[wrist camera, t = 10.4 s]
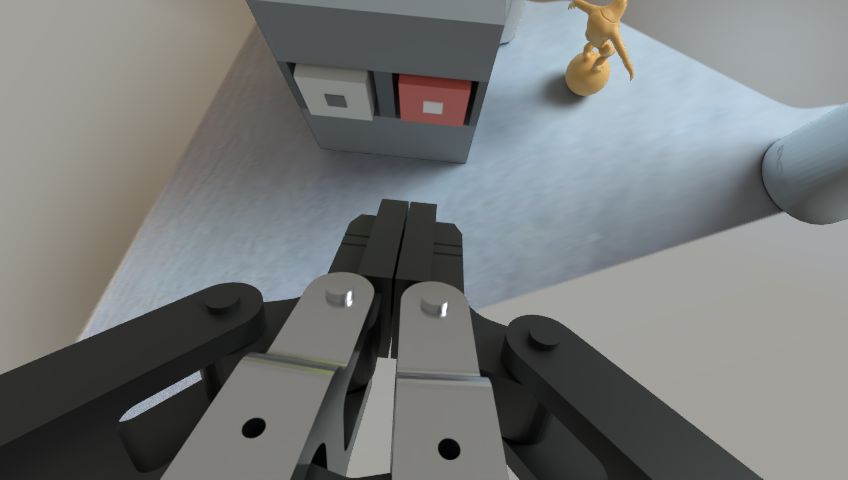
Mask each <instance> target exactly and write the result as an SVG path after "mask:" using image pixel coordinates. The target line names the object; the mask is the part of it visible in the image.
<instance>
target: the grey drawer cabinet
mask: <svg viewBox="0 0 848 480" xmlns="http://www.w3.org/2000/svg"><path fill="white" fill-rule="evenodd" d="M246 2H247V4H248V5H249V7H250V9H251V11H252V13H253V15H254V17H255V19H256V21H257V23H258V25H259V27H260V29H261V31H262V33H263V35H264V37H265V39H266V41H267V43H268V45H269V47H270V49H271V51H272V53H273V55H274V57H275V59H276V61H277V63H278V65H279V67H280V69H281V71H282V73H283V75H284V77H285V79H286V81H287V83H288V85H289V87H290V89H291V91H292V93H293V95H294V97H295V99H296V101H297V103H298V105H299V107H300V109H301V111H302V113H303V115H304V117H305V119H306V121H307V122H308V124H309V126H310V128H311V130H312V132H313V134H314V136H315V138H316V140H317V142H318V144H319V146H320V148H321V149H331V150H341V151H350V152H360V153H370V154H379V155H389V156H399V157H409V158H418V159H428V160H438V161H447V162H457V163H466V161H467V157H468V154H469V150H470V147H471V143H472V139H473V136H474V132H475V129H476V125H477V122H478V118H479V115H480V111H481V108H482V104H483V100H484V97H485V93H486V90H487V86H488V83H489V79H490V76H491V72H492V69H493V65H494V62H495V58H496V54H497V51H498V47H499V44H500V40H501V37H502V33H503V30H504V26H505V14H506V0H246ZM296 63H302V64H312V65H322V66H332V67H342V68H351V69H361V70H371V71H373V72H374V79H375V85H376V91H377V94H376V101H375V108H374V114H373V121H369V120H360V119H350V118H340V117H330V116H321V115H311V113H310V111H309V109H308V107H307V105H306V102H305V100H304V98H303V96H302V94H301V92H300V90H299V87H298V85H297V83H296V81H295V79H294V77H293V76H294V71H295V66H296ZM400 73H401V74H410V75H420V76H430V77H440V78H450V79H460V80H469V81H471V90H470V95H469V100H468V104H467V109H466V113H465V118H464V123H463V127H459V126H449V125H439V124H430V123H420V122H410V121H401V111H400V97H399V77H400Z"/></svg>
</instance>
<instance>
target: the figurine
mask: <svg viewBox="0 0 848 480" xmlns="http://www.w3.org/2000/svg"><path fill="white" fill-rule="evenodd" d="M626 6H627V0H616V1H614V2H613V3H611V4H609V5H607V6H603V7H602V6H596V5H592V4H589V3H587V2H585V1H582V0H574V1H573V2H572V3H570V5H569V6H568V10H569V8H570V7H571V9H572V7H574V9H575V7H578V8H579V9H581V10H582V11H584V12H586V13H587V14H588V16H589V17H588V22H587V30H586V32H585V36H586V39H587V40H588V41H590V42H588V43H587V44H586V45H585V47H584V52H583V53H581V54H579V55H577V56H576V57H575V58H574V59H573V60H572V61H571V62H570V64H569V65H568V67H567V70H566V83H567V85H568V87H569V88H570V90H571V91H573V92H574V93H576V94H578V95H582V96H588V95H592V94H595V93H597V92H598V91H600V90H601V89H602V88H603V87H604V86H605V84H606V83H607V81H608V79H609V75H610V66H609V63H608V61H607V58H608V57H610V56H611V55H613V54H614V53H615V49H616V51H617V52H618V54H619V56H620V57H621V58H622V60H623V64H624V66H625V67H626V69H627V70H628V72H629V74H630V78H631V79H630V81H631V80H632V78H633V75H634V69H633V66H632V64H631V62H630V61H629V57H628V55H627V52H626V49H625V46H624V44H623V42H622V40H621V37H620V32H619V27H620V25H619V20H620V18H621V16H622V14H623V13H624V10H625V8H626ZM608 39H610V40H611V41H612V43H613V45H614V47H615V49H614V47H613V46H612V45H611V43H610V42H606V41H607V40H608ZM593 47H596V48H598V50H599V53H598V52H594V51H591V50H592V49H593Z"/></svg>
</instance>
